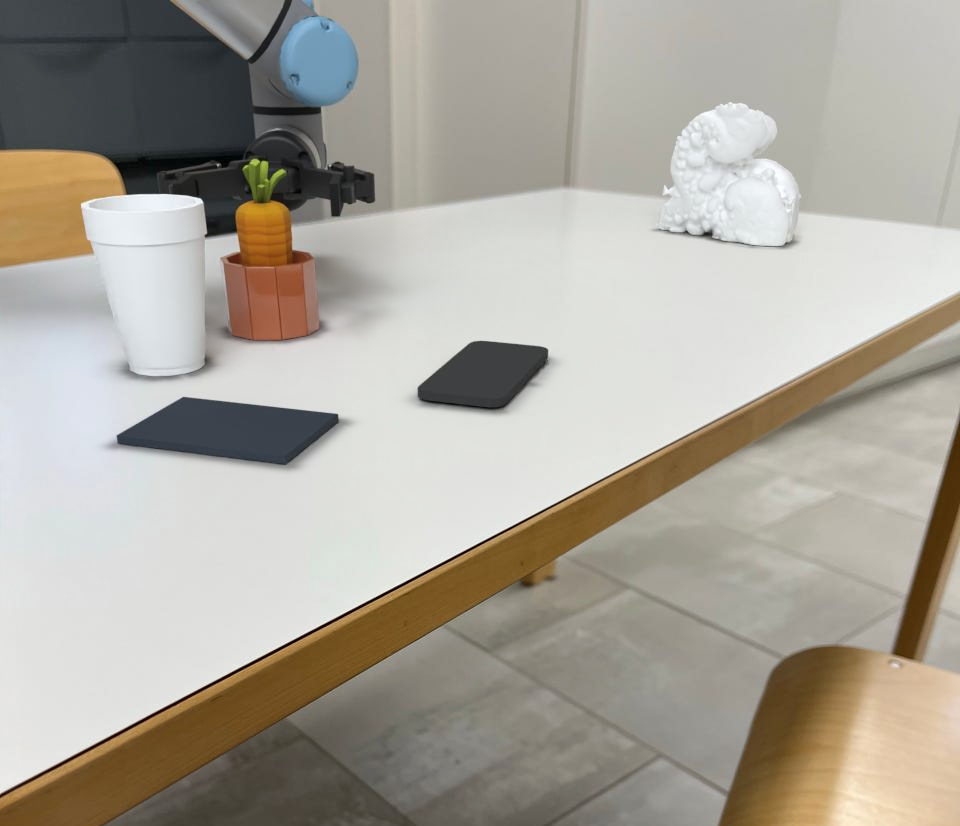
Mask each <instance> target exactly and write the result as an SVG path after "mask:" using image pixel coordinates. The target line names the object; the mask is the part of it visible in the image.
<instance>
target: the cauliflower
mask: <svg viewBox="0 0 960 826" xmlns="http://www.w3.org/2000/svg"><path fill="white" fill-rule="evenodd" d="M777 135H778V126H777V121H775V120H774V119H773V117H771V116H770V115H768V114H765V112H763V111H761V110H759V109H756V110H755V109H752V108H749V106H748V105H747V104H745V103H742V102H737V103H736V102H735V103H733V102H732V101H729V102H728V103H725V104H723V103H720V104H719V105H717V106H715V108H714V109H712V110H711V109H710V110H707V111H704V112H702V113H699V114H698V115H696V116H695V117H694V118H693V119H692V120H690V121H689V122H688V124H687V126H685V127H684V128H683V129H682V130H681V135H678V136H677V137H676V141H675V145H674V149H673V151H672V152H673V153H672V155H671V159H670V165H669V174H670V177H671V179H672V180H673V185H672V187H669V189H668V187H667V185H666V184H664V186H663V189H662V194H661V196H662V197H664V196H666V195H668V196H669V198H668V199H667V200H666V201H665V202H664V203H663V205H662V206H661V208H660V211H659V214H658V222H657V229H658V230H660V231H669V232H670V233H685V232H688V234H690V235H692V236H702V235H704V234H705V233H709V232H711V233H712V234H711V238H713V239H715V240H721V241H723V242H729V243H731V242H732V243H734V242H735V243H741V244H744V245H751V246H759V247H760V246H762V247H782V246H785V244H788V243H790V242H791V241H792V239H793V237H794V235H795V231H796V229H797V225H798V220H799V212H800V205H801V198H802V194H801V193H800V189H799V185H798V183H797V180H796V178H795V176H794V175H793V174H792V172H791V171H790V170H789V169H788V168H785V167H784V166H783V165H782V164H780V163H779V162H778V161H776V160H772V159H769V158H765V157H764V158H757V157H759V156H760V155H762V154H763V153H765V151H766V150H767V149H768V147H770V145H771V144H772V143H773V142H774V141H775V140H776V138H777Z"/></svg>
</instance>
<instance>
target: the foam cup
mask: <svg viewBox="0 0 960 826" xmlns="http://www.w3.org/2000/svg"><path fill="white" fill-rule="evenodd" d="M80 209H81V213H82V219H83V224H84V225H83V226H84V230H85V236H86V240H87V241H89V242H90V245H91V248H92V252H93V255H94V258H95V262H96V265H97V267H98V271H99V273H100V274H99V275H100V277H101V281H102V284H103V287H104V291H105V293H106V297H107V300H108V303H109V307H110V310H111V313H112V316H113V320H114V322H115V326H116V329H117V332H118V336H119V338H120V342H121V344H122V346H121V347H122V349H123V352H124V355H125V358H126V362H127V364H129V365H128V366H129V370H130V372H132V373H135V374H137V375H139V376H140V375H141V376H149V377H171V376H178V375H185V374H188V373H192V372H196V371H199V370H200V369H201V368H202V367H204V366H205V365H206V362H205V357H206V235H207V234H208V229H207V221H206V212H205V203H204V201H202V200H201V199H200V198H196V197H191V196H185V195H171V194H160V193H140V194H139V193H138V194H126V195H125V194H124V195H113V196H106V197H99V198H93V199H90V200H87V201H84V202H81V203H80Z"/></svg>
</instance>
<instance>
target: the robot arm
mask: <svg viewBox="0 0 960 826" xmlns="http://www.w3.org/2000/svg"><path fill="white" fill-rule="evenodd" d="M169 1H170V2H171V3H173V4H174V6H177V7H178V8H179V9H181V10H182V11H183V12H184V13H185V14H187V15H188V16H189V17H190V18H192V19H193V20H194V21H196V22H197V23H198V24H199V25H201V26H202V27H203V28H204V29H205V30H207V31H208V32H209V33H211V34H212V35H213V36H214V37H216V38H217V39H218V40H220V41H221V42H222V43H224V44H225V45H226V46H227V47H229V48H230V49H231V50H233V51H234V52H235V53H236V54H238V55H239V56H240V57H241V58H242V59H244V60H245V61H246V62H248V70H249V71H248V72H249V81H250V88H251V89H250V90H251V99H252V112H253V114H252V115H253V124H254V125H253V126H254V137H255V139H254V140H253V141H252V142H251V143H250V144H249V145H248V146H247V148H246V150H245V152H244V154H243V157H242V159H240V160H231V161H230V162H229V163H228V166H227V167H222V164H221V163H220V162H218V161H216V160H210V161H209V162H205V163H203V164H199V165H192V166H187V167H183V168H177V169H172V170H163V171H159V172H157V173H156V177H157V185H158V191H159V194H171V195H185V196H191V197H196V198H200V199H201V200H202V201H203V202H204V201H211V200H217V199H218V200H219V199H224V198H230V197H232V199H234V200H240V201H247V200H254V199H253V194H252V190H251V186H250V184H249V182H248V181H247V179H246V177H245V175H244V172H243V168H244V167H245V166H246V165H249V163H250V162H251V160H253V159H258V160H259V161H260V164H261V162H262V161H266V162H268V174H267V179H268V180H269V181H270V179H271V178H272V176H273V174H275V173H276V172H277V171H279V170H281V169H283V170H284V171H286V173H287V175H286V176H285V177H283V178H282V179H280V180H279V181H278V183H277V184H276V186H275V187H274V189H273V191H272V194H271V197H270V200H272V201H276V202H279V203H281V204H283V205H285V206H286V207H287V208H288V210H289V212H290V213H291V212H293V211H295V210H298V209H300V208H302V206H303V205H305V204H306V203H307V202H308V200H315V199H316V198H317V199H323V200H328V201H329V202H330V216H331V218H332V217H333V218H334V217H335V218H337V217H341V214H342V212H343V209H344V205H345V204H347V205H353V204H356V203H357V201H359V202H363V203H366V204H374V203H375V202H376V185H375V184H376V183H375V173H373V172H370V171H366V170H364V169H363V170H362V169H359V168H355V165H345V163H344V162H341V161H334V162H331V164H329V163H328V153H327V152H328V151H327V145H326V143H325V141H324V132H323V131H324V130H323V117H322V115H323V114H322V108H323V107H331V106H333V105H337V104H339V103H340V102H342V101H343V100H344V99H345V98H346V97H348V95H350V93H351V92H352V91H353V90H354V87H355V84H356V82H357V79H358V75H359V62H360V61H359V55H358V51H357V47H356V45H355V43H354V41H353V38H352V37H351V36H350V33H348V31H346V29H344V28H343V27H342V26H341V25H340V24H338V23H337V22H336V21H334V20H333V19H331V18H328V17H326V16H323V15H319V14H318V13H317V12H316V11H315V5H314V3H313V1H312V0H169ZM326 168H327V169H326Z"/></svg>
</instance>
